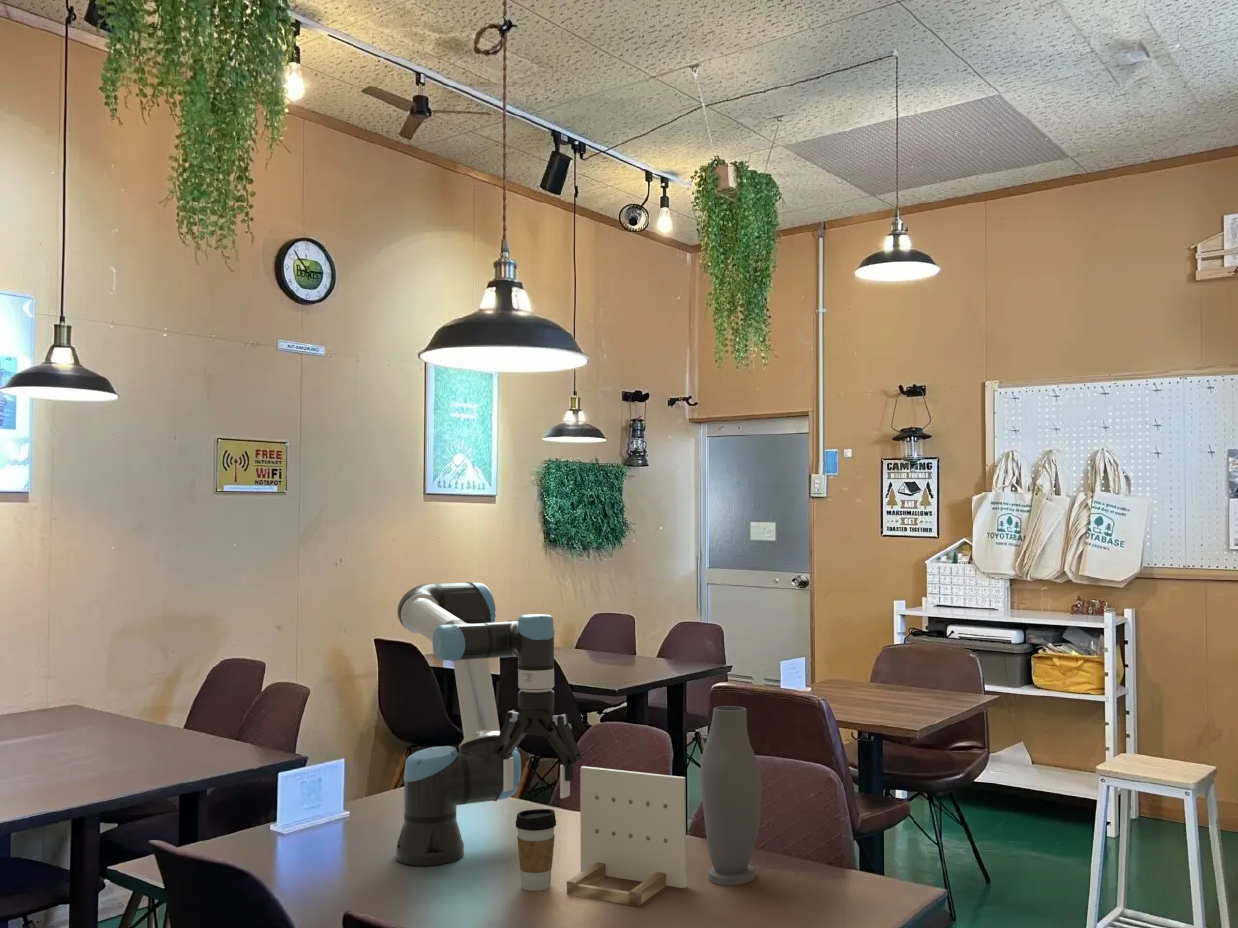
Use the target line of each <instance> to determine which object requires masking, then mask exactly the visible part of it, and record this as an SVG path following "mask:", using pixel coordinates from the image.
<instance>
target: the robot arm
mask: <svg viewBox="0 0 1238 928" xmlns="http://www.w3.org/2000/svg"><path fill="white" fill-rule="evenodd" d="M396 611H397V617H398V620H399V622H400V624H401V625H402V626H403V627H404V628H405V629H406V630H407V631H409V632H411V633H413V634H418V635H419V634H421V635H422V636H423V637H424V638H426V639H427V640H429V641H430V642H431V643H432V651H433V653H434V655H435V658H436V659H437V660H439V661H450V662H453V669H454V670H453V671H454V675H455V682H456V691H457V698H458V705H459V711H460V719H461V724H462V733H463V734H462V735H463V739H462V741H461V743H459V745H458V749H459V752H458V751H457V748H456V747H455V746H452V745H451V746H450V745H444V746H443V745H442V746H440V745H439V746H431V747H427V748H423V749H420V750H417V751H415V752H413V753H412V754H410V755H409V756H408V757H407V758H406V760H405V763H404V764H405V765H404V773H403V780H404V788H403V789H404V792H403V793H404V796H403V799H404V802H403V803H404V804H403V806H404V807H403V808H404V809H403V817H404V818H403V824H402V827H401V831H400V834H399V837H398V840H397V844H396V846H395V859H396V861H397V862H399V863H402V864H404V865H410V866H419V867H420V866H422V867H423V866H424V867H425V866H438V865H444V864H449V863H452V862H455V861H458V860H459V859H461V858H462V857H464V853H465V843H464V841H463V839H462V833H461V830H460V827H459V824H458V820H457V807H458V806H462V805H470V804H478V803H484V802H485V803H486V802H497V801H500V800H505V799H509V798H512V797H513V796H514V795H515V793H516V792H517V790H518V787H519V784H520V781H521V774H522V761H521V753H520V751H519V750H518V748H517V747H518V746H519V745H520V743H521V742H522V740H523V739H524V738H525V737H526V735H527V736H533V735H535V736H536V737H542V736H543V738H544V739H545V740H547V741H548V743H549V744H550V746H551V747H552V749H553V751H555V753H556V755H557V756H558V757H559V759H560V760H561V762H562V763H563V764H560V765H559V785H560V786H559V788H560V791H559V797H560V799H565V798H568V797H570V796H571V791H570V790H571V781H573V779H574V764H575V763H578V762H580V761H582V760H583V757H582V754H581V751H580V749H579V747H578V743H577V742H576V740H575V738H574V734H573V731H572V730H571V728H570V725H569V716H568V714H566V713H564V714H559V715H555V713H554V712H555V711H554V709H555V691H554V690H553V688H554V687H555V632H556V631H555V626H554V618H553V617H552V615H550V614H543V613H541V614H540V613H539V614H538V613H536V614H535V613H533V614H522V615H520V616H519V618H518V620H517V619H514V620H513V619H512V620H511V619H510V620H506V621H497V622H495V621H496V611H497V609H496V604H495V599H494V596H493V593H492V592H491V590H490V588H489V587H488V586H487V585H486V584H484V583H482V582H471V581H465V582H446V583H445V582H444V583H439V582H438V583H432V582H431V583H423V584H420V585H417V586H415V587H412V588H411V589H409V590H408V591H407V592H406V593H405V594H403V596H402V597H401V599H400V600H399V603H398V605H397V610H396ZM510 657H512V658H513V657H514V658H515V657H516V658H517V677H518V679H517V685H518V686H517V687H518V688H519V689H520V690H519V691H518V692H517V707H518V712H517V711H516V710H515V709H512V710H510V711H509V710H508V711H506V712H505V715H504V722H503V726H502V727H501V730H500V724H499V723H500V722H499V718H498V717H499V716H498V710H497V703H496V697H495V689H494V685H493V678H492V673H491V665H490V659H494V658H495V659H496V658H510ZM517 721H518V723H519V726H518V728H517V729H516V731H515V733H514V734H513V736H512V737H511V736H510V735H511V734H512V731H513V730H514V726H515V725H516V722H517ZM554 723H555V726H557V730H558V731H557V730H556V728H555V727H554V725H553V724H554ZM558 732H559V734H560V736H559V735H558ZM510 737H511V739H510ZM560 737H561V738H560ZM509 739H510V740H509Z"/></svg>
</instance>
